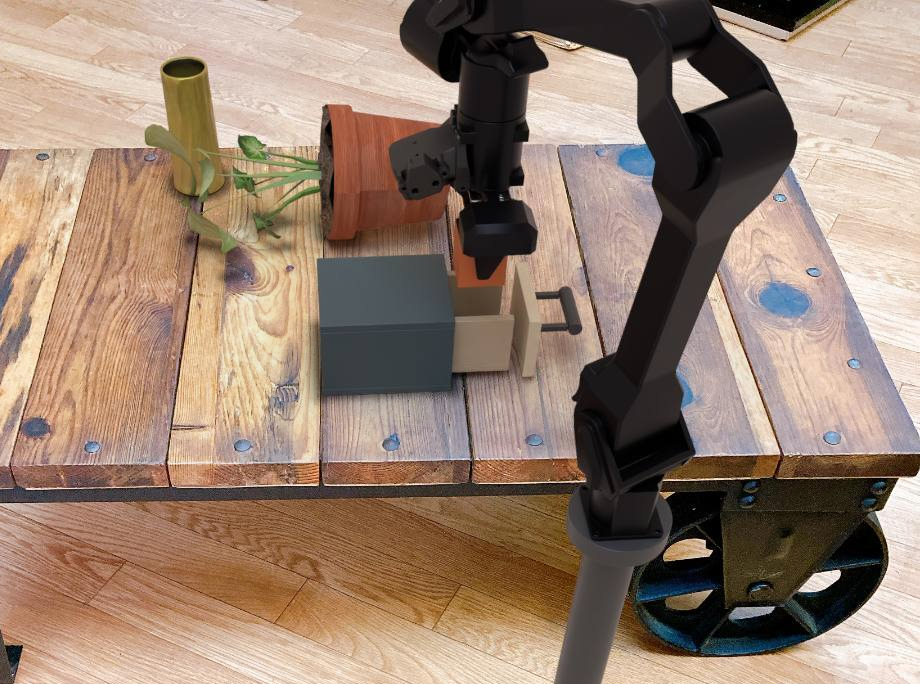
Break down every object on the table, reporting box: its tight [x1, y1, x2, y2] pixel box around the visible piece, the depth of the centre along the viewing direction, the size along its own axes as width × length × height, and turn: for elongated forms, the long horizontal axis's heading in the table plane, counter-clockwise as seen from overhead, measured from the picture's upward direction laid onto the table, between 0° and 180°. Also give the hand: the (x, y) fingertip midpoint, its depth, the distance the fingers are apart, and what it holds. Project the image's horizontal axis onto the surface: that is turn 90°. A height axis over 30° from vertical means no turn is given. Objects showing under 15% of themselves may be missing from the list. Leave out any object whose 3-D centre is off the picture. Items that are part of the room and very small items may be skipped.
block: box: [452, 220, 509, 288], centre depth 103 cm, size 4×4×4 cm
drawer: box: [447, 261, 584, 378], centre depth 109 cm, size 16×9×7 cm, turn 94°
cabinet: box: [316, 253, 455, 397], centre depth 109 cm, size 13×11×9 cm
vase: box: [159, 55, 226, 197], centre depth 127 cm, size 6×6×14 cm
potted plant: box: [144, 103, 451, 255], centre depth 121 cm, size 16×15×35 cm
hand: (479, 263), depth 104 cm, fingers closed on block, 4 cm apart
